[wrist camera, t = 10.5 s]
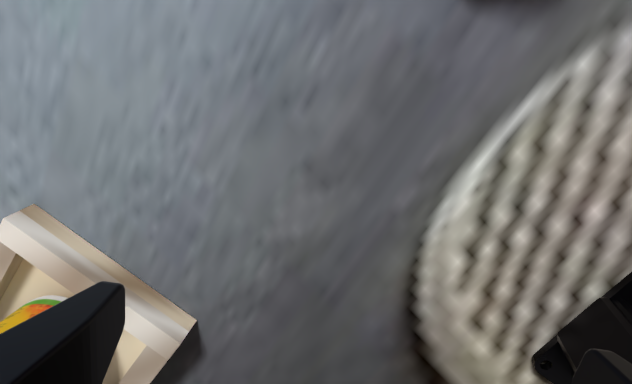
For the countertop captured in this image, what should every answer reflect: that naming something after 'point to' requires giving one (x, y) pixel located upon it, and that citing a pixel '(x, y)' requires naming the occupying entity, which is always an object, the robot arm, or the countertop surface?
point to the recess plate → (79, 274)
